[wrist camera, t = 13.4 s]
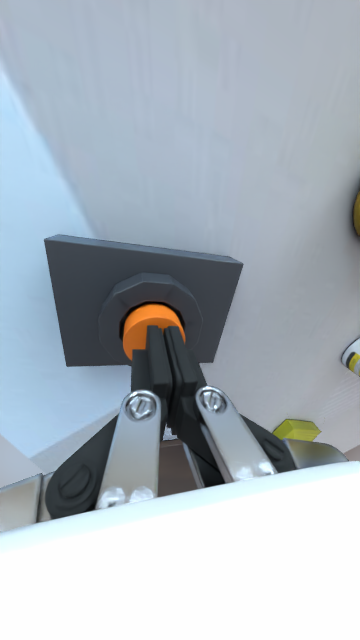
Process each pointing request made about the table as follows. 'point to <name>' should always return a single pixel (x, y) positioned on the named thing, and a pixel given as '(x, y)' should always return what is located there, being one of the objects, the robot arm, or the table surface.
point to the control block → (135, 295)
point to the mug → (357, 214)
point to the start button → (147, 316)
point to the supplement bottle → (353, 357)
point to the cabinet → (174, 469)
